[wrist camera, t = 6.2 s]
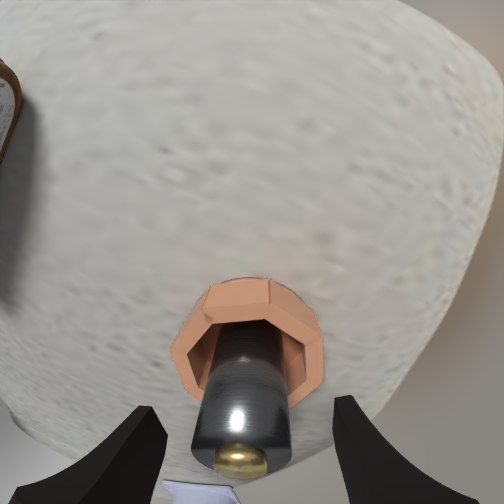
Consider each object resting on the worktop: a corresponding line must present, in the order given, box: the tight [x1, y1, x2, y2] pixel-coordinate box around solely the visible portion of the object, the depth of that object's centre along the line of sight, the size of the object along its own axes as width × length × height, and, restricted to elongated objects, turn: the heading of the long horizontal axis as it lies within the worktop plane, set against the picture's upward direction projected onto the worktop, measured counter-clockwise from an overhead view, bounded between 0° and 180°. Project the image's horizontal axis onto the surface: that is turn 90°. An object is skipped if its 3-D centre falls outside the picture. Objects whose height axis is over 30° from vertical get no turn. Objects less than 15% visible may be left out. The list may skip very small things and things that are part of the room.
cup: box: [170, 277, 323, 409], centre depth 14 cm, size 7×7×3 cm
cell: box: [191, 319, 292, 480], centre depth 11 cm, size 4×4×8 cm
